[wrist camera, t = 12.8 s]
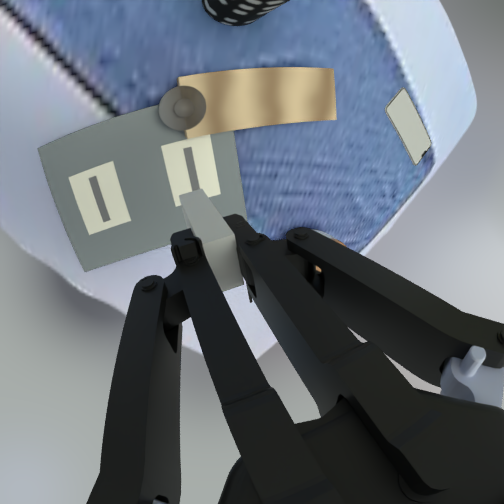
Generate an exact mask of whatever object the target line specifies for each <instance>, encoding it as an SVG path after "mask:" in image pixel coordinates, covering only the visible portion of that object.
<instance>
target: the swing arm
mask: <svg viewBox="0 0 504 504" xmlns="http://www.w3.org/2000/svg"><path fill="white" fill-rule="evenodd" d="M177 85H178V86H177V87H175V88H173V89H171V90H169V91H168V92H167V93H166V94H165V95H164V96H163V97H162V99H161V101H160V103H159V115H160V118H161V120H162V121H163V122H164V123H165V124H166V125H167V126H168V127H170V128H172V129H174V130H180V131H183V130H184V132H185V137H186V138H187V139H190V138H194V137H199V136H204V135H210V134H215V133H221V132H226V131H232V130H239V129H245V128H252V127H260V126H268V125H276V124H285V123H296V122H307V121H321V120H336V99H335V83H334V69H330V68H306V67H277V68H252V69H238V70H227V71H218V72H210V73H202V74H195V75H189V76H183V77H178V78H177Z"/></svg>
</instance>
